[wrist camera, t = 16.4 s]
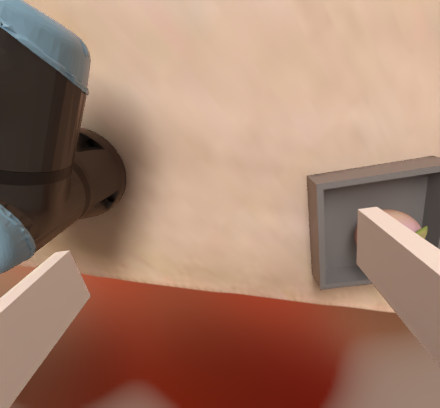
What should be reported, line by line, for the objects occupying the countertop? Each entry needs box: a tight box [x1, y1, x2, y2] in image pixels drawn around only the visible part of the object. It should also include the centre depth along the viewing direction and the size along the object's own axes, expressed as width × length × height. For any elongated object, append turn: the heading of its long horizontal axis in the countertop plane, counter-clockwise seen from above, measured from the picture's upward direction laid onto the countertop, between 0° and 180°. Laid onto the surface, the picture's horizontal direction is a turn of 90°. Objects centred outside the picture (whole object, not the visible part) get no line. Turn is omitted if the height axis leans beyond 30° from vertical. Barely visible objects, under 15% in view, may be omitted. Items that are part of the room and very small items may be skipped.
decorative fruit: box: [355, 209, 428, 245], centre depth 39 cm, size 9×8×10 cm
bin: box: [307, 156, 440, 290], centre depth 42 cm, size 20×20×5 cm
